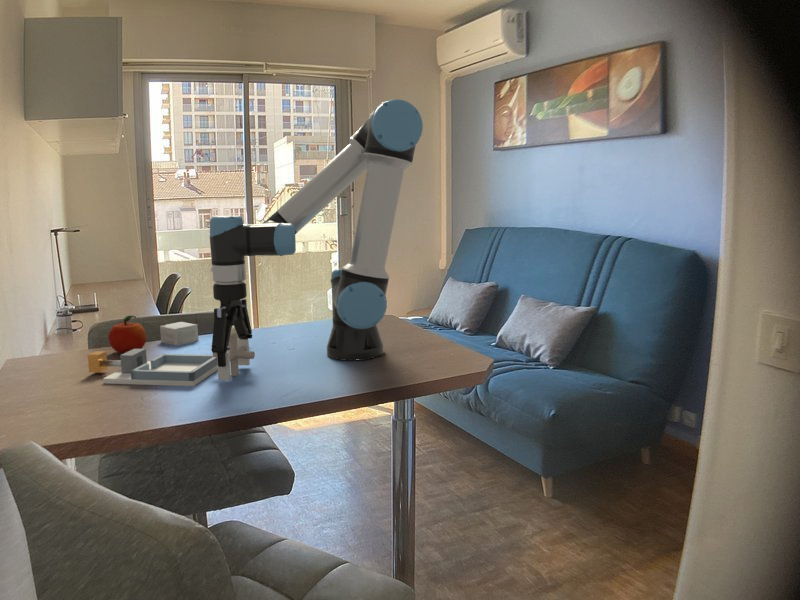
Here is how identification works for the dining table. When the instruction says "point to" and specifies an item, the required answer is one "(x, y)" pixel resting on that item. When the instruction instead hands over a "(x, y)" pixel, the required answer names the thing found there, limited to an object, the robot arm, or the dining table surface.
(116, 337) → the fruit
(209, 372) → the dock
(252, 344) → the dining table surface
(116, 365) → the lock pin
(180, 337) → the small box
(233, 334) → the pipe connector
